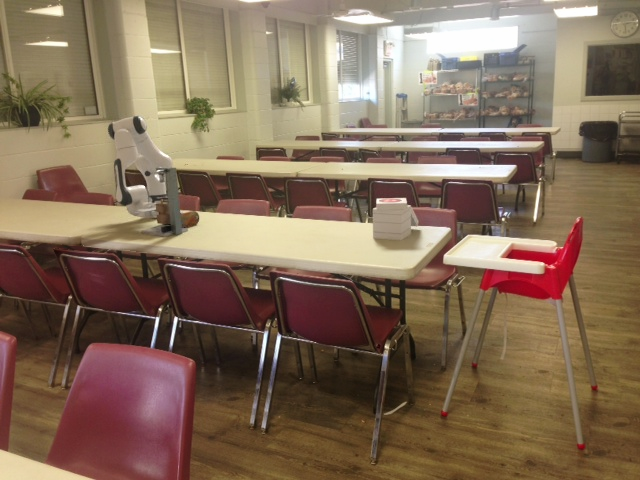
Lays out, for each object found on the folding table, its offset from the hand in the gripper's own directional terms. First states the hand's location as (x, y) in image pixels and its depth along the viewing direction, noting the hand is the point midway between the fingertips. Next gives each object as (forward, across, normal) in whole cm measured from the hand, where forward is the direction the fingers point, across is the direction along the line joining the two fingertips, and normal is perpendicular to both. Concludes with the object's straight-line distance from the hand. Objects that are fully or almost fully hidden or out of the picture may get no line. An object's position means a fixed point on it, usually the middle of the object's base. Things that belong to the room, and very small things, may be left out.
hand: (164, 212), depth 315 cm
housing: (-1, 0, +6) cm, 6 cm away
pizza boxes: (+113, +57, +11) cm, 127 cm away
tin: (-1, +17, +11) cm, 21 cm away
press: (0, -3, +11) cm, 12 cm away
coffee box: (-16, +17, +11) cm, 26 cm away
